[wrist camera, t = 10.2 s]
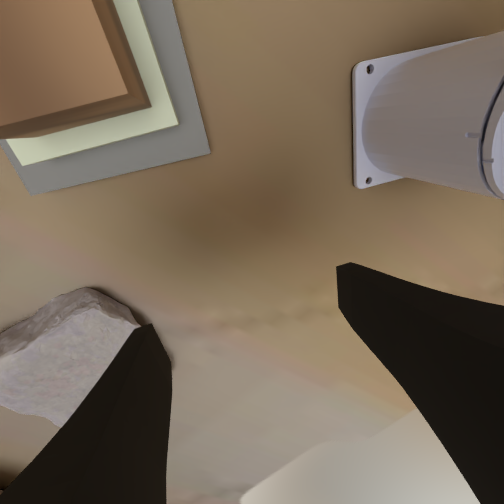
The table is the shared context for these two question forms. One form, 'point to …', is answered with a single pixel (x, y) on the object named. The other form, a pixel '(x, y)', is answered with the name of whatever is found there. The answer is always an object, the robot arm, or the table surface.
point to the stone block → (61, 353)
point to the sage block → (118, 126)
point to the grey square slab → (142, 147)
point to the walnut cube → (64, 66)
